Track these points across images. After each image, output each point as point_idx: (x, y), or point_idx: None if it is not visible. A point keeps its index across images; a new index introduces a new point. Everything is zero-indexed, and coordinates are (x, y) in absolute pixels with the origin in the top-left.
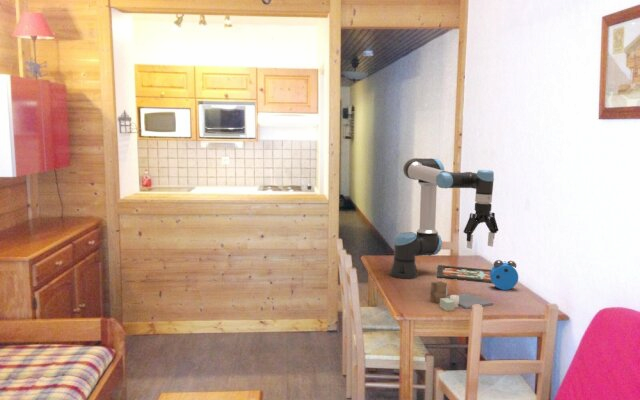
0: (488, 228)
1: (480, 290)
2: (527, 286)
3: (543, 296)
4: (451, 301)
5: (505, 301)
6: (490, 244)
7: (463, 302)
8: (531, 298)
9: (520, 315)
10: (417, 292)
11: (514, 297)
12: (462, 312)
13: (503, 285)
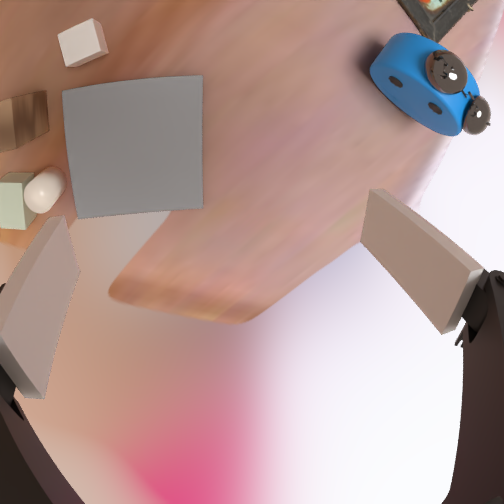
0: (498, 318)
1: (302, 48)
2: None
3: (421, 195)
4: (17, 222)
5: (280, 188)
6: (371, 233)
7: (94, 174)
8: None
9: (212, 301)
10: (26, 3)
11: (346, 166)
12: None
13: (390, 93)
